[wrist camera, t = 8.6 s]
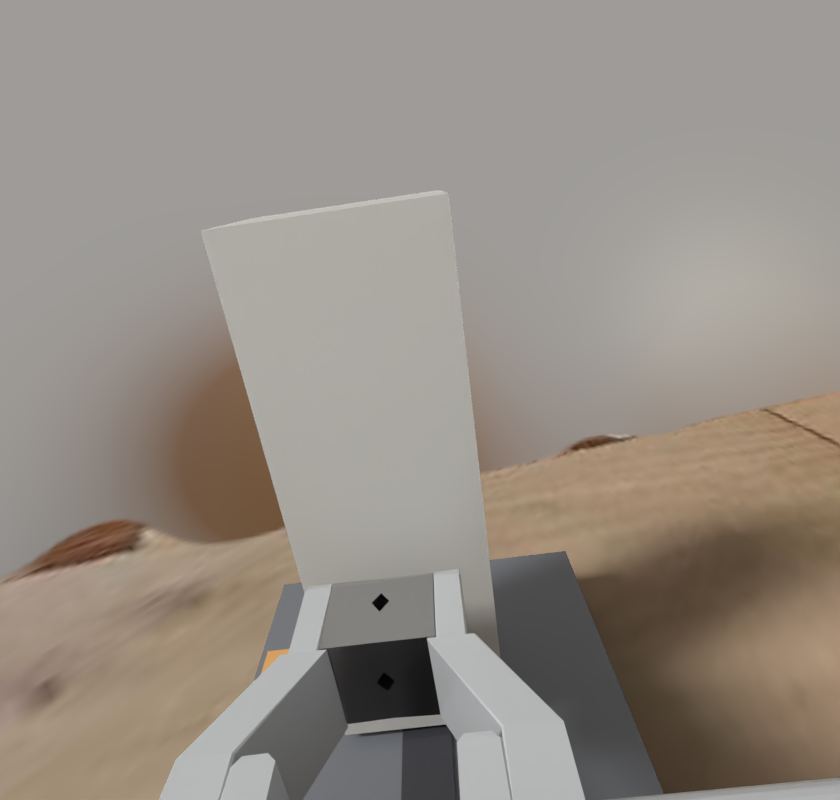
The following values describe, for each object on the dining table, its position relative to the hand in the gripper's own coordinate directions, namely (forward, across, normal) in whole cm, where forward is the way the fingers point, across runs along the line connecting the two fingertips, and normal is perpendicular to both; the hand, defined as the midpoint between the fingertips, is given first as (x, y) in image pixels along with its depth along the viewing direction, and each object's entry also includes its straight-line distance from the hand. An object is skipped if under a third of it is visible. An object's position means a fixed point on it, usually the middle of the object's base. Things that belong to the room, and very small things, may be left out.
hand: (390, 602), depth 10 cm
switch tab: (+2, 0, +5) cm, 5 cm away
